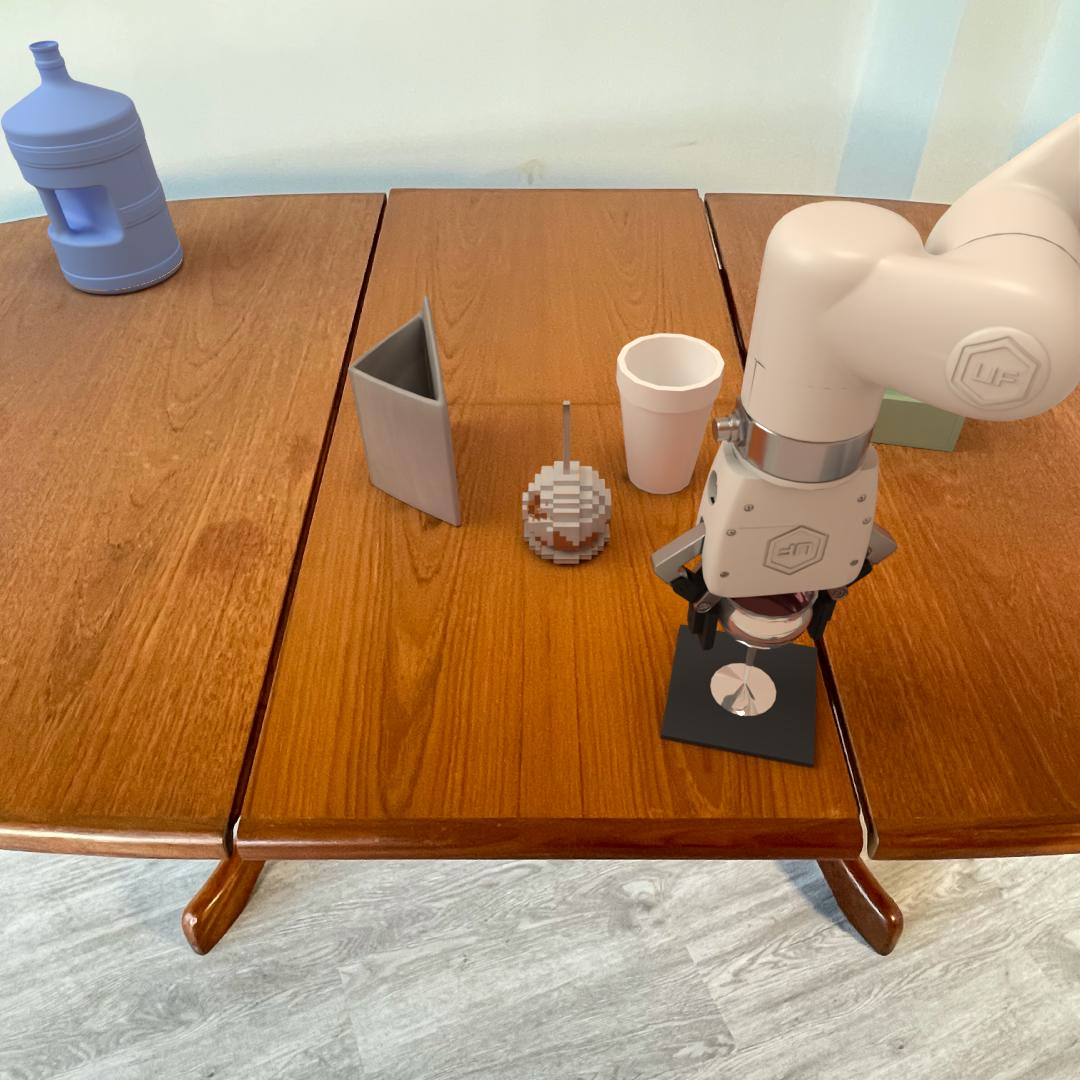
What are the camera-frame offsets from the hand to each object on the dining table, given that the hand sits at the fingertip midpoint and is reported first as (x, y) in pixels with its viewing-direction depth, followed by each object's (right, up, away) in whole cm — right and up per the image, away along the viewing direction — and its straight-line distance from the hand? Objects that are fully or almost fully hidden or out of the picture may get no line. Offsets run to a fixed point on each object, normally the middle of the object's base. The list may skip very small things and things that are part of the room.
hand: (756, 628), depth 63 cm
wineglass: (0, -5, +5) cm, 7 cm away
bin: (+22, +20, +32) cm, 43 cm away
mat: (0, -6, +5) cm, 8 cm away
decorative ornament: (-13, +6, +18) cm, 23 cm away
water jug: (-72, +44, +59) cm, 103 cm away
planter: (-28, +12, +25) cm, 40 cm away
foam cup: (-4, +13, +25) cm, 28 cm away
